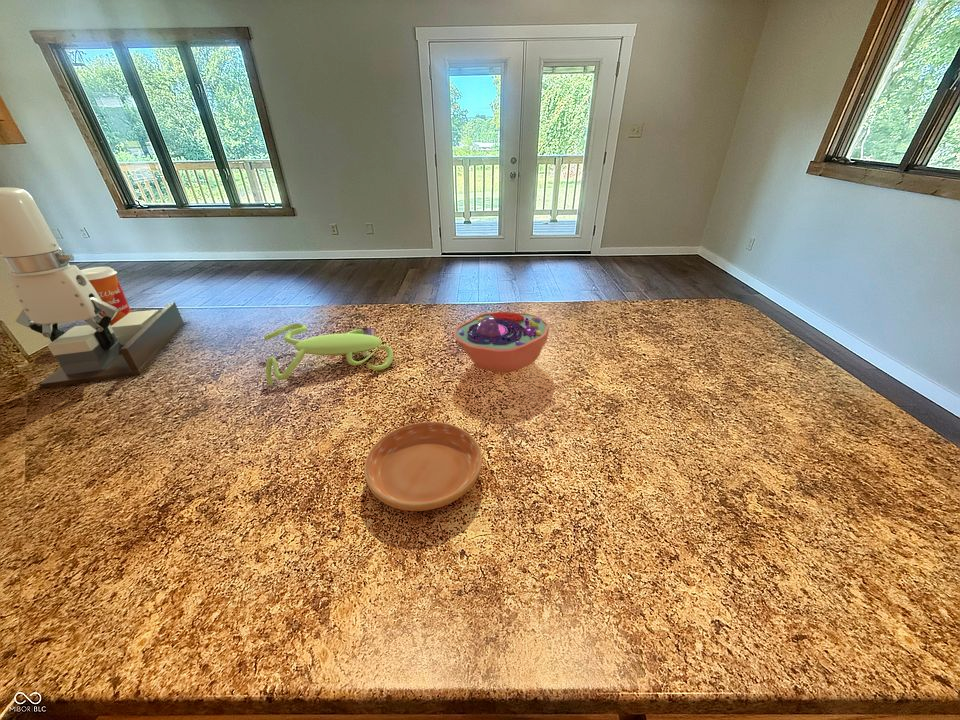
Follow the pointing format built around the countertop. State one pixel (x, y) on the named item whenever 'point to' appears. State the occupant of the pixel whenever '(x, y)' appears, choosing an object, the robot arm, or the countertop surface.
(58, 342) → the cream flat block
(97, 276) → the paper cup
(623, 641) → the countertop surface
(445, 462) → the saucer
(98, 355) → the grey stack
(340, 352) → the figurine
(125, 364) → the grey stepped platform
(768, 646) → the countertop surface
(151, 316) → the white stack
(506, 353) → the cell model
